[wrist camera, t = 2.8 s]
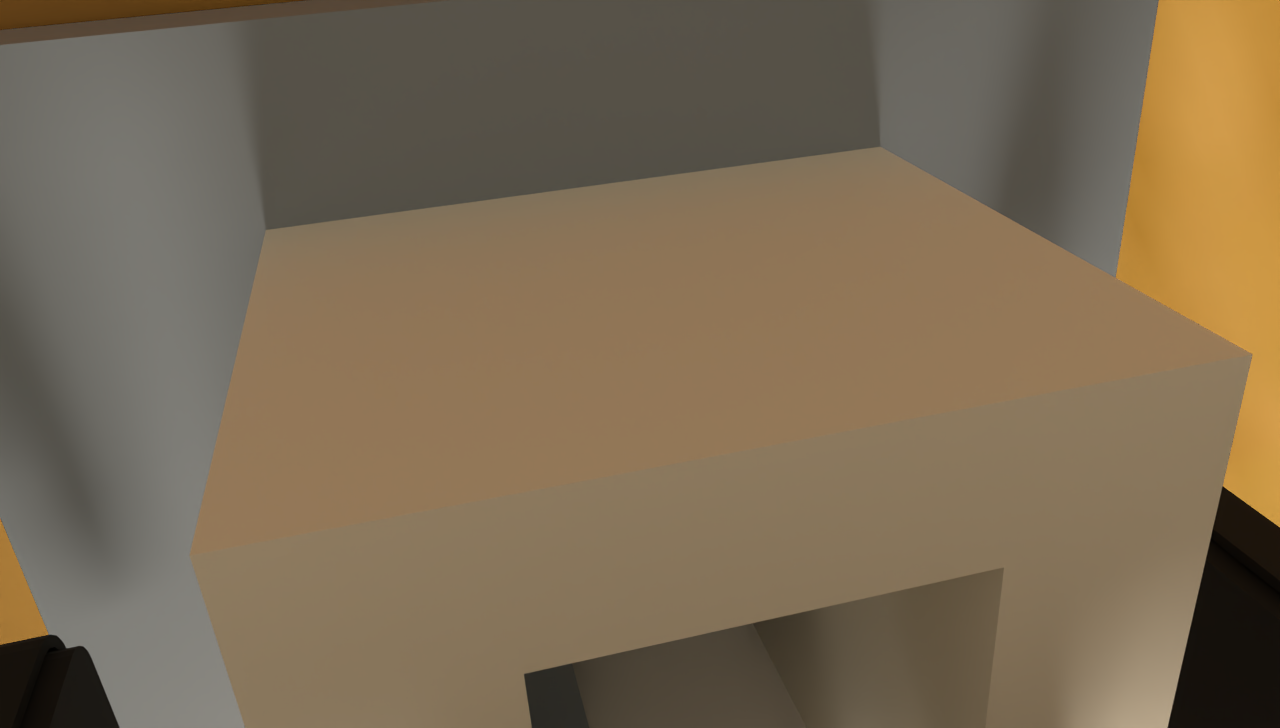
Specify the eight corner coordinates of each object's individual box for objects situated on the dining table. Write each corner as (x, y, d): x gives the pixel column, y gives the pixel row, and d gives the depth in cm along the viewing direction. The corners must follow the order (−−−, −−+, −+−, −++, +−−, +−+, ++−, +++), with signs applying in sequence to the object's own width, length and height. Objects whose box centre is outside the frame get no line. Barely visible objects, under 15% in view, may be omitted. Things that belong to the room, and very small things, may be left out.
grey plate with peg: (1105, -78, 11) (2211, 26, 4) (1000, 736, 17) (1431, 1325, 10) (-138, 42, 9) (-1574, 597, 2) (213, 937, 14) (93, 1866, 8)
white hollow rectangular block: (266, 230, 9) (188, 555, 5) (880, 147, 11) (1252, 355, 6) (415, 855, 13) (446, 1350, 9) (855, 746, 14) (1073, 1138, 10)
